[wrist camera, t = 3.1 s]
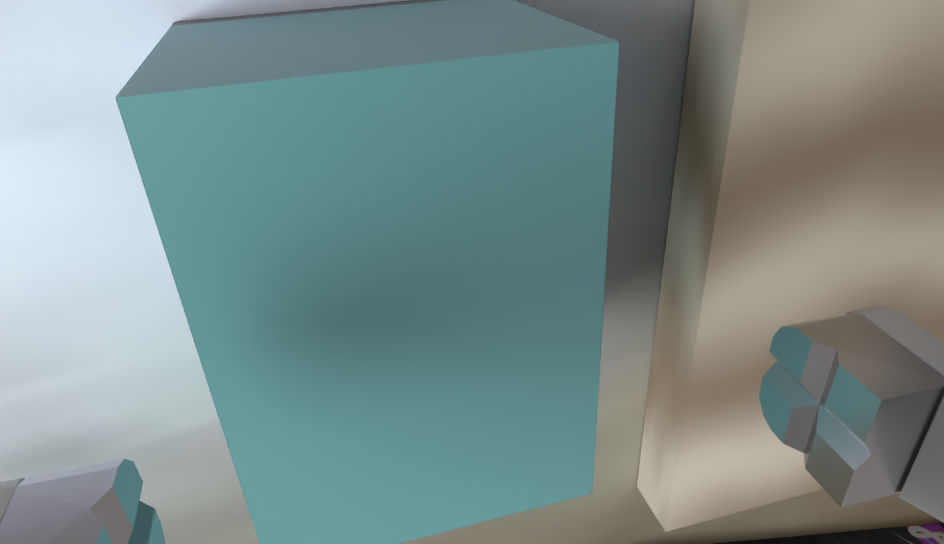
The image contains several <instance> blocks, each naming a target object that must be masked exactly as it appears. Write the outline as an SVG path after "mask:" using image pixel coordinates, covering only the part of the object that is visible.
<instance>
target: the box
mask: <svg viewBox="0 0 944 544" xmlns="http://www.w3.org/2000/svg"><path fill="white" fill-rule="evenodd" d="M717 544H944V523H940V524H929V525H918V526H907V527H895V528H884V529H873V530H862V531H850V532H839V533H828V534H817V535H806V536H796V537H784V538H772V539H761V540H751V541H739V542H728V543H717Z"/></svg>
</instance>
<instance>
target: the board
mask: <svg viewBox="0 0 944 544" xmlns="http://www.w3.org/2000/svg"><path fill="white" fill-rule="evenodd" d="M878 305H882V306H886V307H889V308H893V309H896V310H897V311H899V312H900V313H901V314H903V315H904V316H906V317H907V318H909V319H910V320H912V321H913V322H915V323H916V324H917V325H919V326H920V327H922V328H923V329H925V330H926V331H928V332H929V333H931V334H932V335H933V336H935V337H936V338H938V339H939V340H941V341H942V342H944V0H695V5H694V13H693V22H692V30H691V38H690V47H689V55H688V63H687V72H686V80H685V88H684V97H683V105H682V113H681V122H680V130H679V139H678V147H677V155H676V164H675V172H674V180H673V189H672V197H671V205H670V214H669V222H668V231H667V239H666V247H665V256H664V264H663V272H662V281H661V289H660V297H659V306H658V314H657V323H656V331H655V339H654V348H653V356H652V364H651V373H650V381H649V389H648V398H647V406H646V415H645V423H644V431H643V440H642V448H641V456H640V465H639V473H638V481H637V487H638V489H639V491H640V492H641V494H642V495H643V497H644V498H645V500H646V502H647V503H648V505H649V506H650V508H651V510H652V511H653V513H654V514H655V516H656V518H657V519H658V521H659V522H660V524H661V525H662V527H663V529H664V530H665V532H668V531H671V530H675V529H679V528H682V527H686V526H690V525H693V524H697V523H701V522H705V521H708V520H712V519H716V518H719V517H723V516H727V515H730V514H734V513H738V512H741V511H745V510H749V509H752V508H756V507H760V506H763V505H767V504H771V503H774V502H778V501H782V500H785V499H789V498H793V497H796V496H800V495H804V494H808V493H811V492H815V491H819V490H822V489H823V488H822V486H821V485H820V484H819V483H818V482H817V481H816V480H815V479H814V478H813V477H812V475H811V474H810V473H809V472H808V471H807V470H806V469H805V462H804V453H802V452H800V451H798V450H796V449H794V448H792V447H789V446H787V445H785V444H783V443H782V442H781V441H780V440H779V439H778V437H777V436H776V435H775V434H774V433H773V432H772V430H771V429H770V427H769V426H768V424H767V422H766V420H765V418H764V416H763V413H762V408H761V404H760V399H759V393H760V388H761V383H762V377H763V376H764V375H765V374H766V372H767V371H768V370H769V369H770V368H771V367H772V366H773V364H774V363H775V360H774V358H773V357H772V355H771V354H770V352H769V350H770V346H771V342H772V338H773V336H774V335H775V333H776V332H777V331H778V330H779V329H780V327H782V326H787V325H792V324H796V323H801V322H806V321H811V320H815V319H820V318H825V317H830V316H834V315H839V314H846V313H847V312H851V311H856V310H860V309H865V308H869V307H874V306H878Z"/></svg>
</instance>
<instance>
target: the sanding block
mask: <svg viewBox="0 0 944 544" xmlns="http://www.w3.org/2000/svg"><path fill="white" fill-rule="evenodd" d="M618 57H619V41H617V40H614V39H612V38H609V37H607V36H604V35H602V34H599V33H597V32H594V31H592V30H589V29H586V28H584V27H581V26H579V25H576V24H574V23H571V22H569V21H566V20H564V19H561V18H559V17H556V16H554V15H551V14H548V13H546V12H543V11H541V10H538V9H536V8H533V7H531V6H528V5H526V4H523V3H521V2H518V1H516V0H411V1H400V2H389V3H378V4H367V5H356V6H345V7H334V8H323V9H312V10H301V11H290V12H279V13H268V14H257V15H246V16H235V17H224V18H213V19H202V20H191V21H180V22H174V23H173V25H172V26H171V27H170V28H169V30H168V31H167V32H166V34H165V35H164V36H163V37H162V39H161V40H160V41H159V42H158V44H157V45H156V46H155V48H154V49H153V50H152V51H151V53H150V54H149V55H148V57H147V58H146V59H145V60H144V62H143V63H142V64H141V65H140V67H139V68H138V69H137V71H136V72H135V73H134V74H133V76H132V77H131V78H130V80H129V81H128V82H127V83H126V85H125V86H124V87H123V88H122V90H121V91H120V92H119V94H118V95H117V96H116V97H115V98H116V101H117V104H118V107H119V110H120V113H121V117H122V120H123V123H124V126H125V129H126V132H127V135H128V138H129V141H130V144H131V148H132V151H133V154H134V157H135V160H136V163H137V166H138V169H139V172H140V175H141V178H142V182H143V185H144V188H145V191H146V194H147V197H148V200H149V203H150V206H151V209H152V212H153V216H154V219H155V222H156V225H157V228H158V231H159V234H160V237H161V240H162V243H163V247H164V250H165V253H166V256H167V259H168V262H169V265H170V268H171V271H172V274H173V277H174V281H175V284H176V287H177V290H178V293H179V296H180V299H181V302H182V305H183V308H184V312H185V315H186V318H187V321H188V324H189V327H190V330H191V333H192V336H193V339H194V342H195V346H196V349H197V352H198V355H199V358H200V361H201V364H202V367H203V370H204V373H205V376H206V380H207V383H208V386H209V389H210V392H211V395H212V398H213V401H214V404H215V407H216V411H217V414H218V417H219V420H220V423H221V426H222V429H223V432H224V435H225V438H226V441H227V445H228V448H229V451H230V454H231V457H232V460H233V463H234V466H235V469H236V472H237V476H238V479H239V482H240V485H241V488H242V491H243V494H244V497H245V500H246V503H247V506H248V510H249V513H250V516H251V519H252V522H253V525H254V528H255V531H256V534H257V537H258V540H259V544H399V543H403V542H407V541H411V540H415V539H419V538H422V537H426V536H430V535H434V534H438V533H442V532H445V531H449V530H453V529H457V528H461V527H465V526H468V525H472V524H476V523H480V522H484V521H488V520H491V519H495V518H499V517H503V516H507V515H511V514H515V513H518V512H522V511H526V510H530V509H534V508H538V507H541V506H545V505H549V504H553V503H557V502H561V501H564V500H568V499H572V498H576V497H580V496H584V495H588V494H591V493H592V489H593V473H594V456H595V440H596V423H597V406H598V390H599V373H600V356H601V340H602V323H603V307H604V290H605V273H606V257H607V240H608V224H609V207H610V190H611V174H612V157H613V140H614V124H615V107H616V91H617V74H618Z"/></svg>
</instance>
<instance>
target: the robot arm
mask: <svg viewBox="0 0 944 544" xmlns="http://www.w3.org/2000/svg"><path fill="white" fill-rule="evenodd" d="M769 352H770V354H771V355H772V357H773V358H774V360H775V363H774V364H773V366H772V367H771V368H770V369H769V370H768V371H767V372H766V374H765V375H764V376H763V377H762V383H761V388H760V393H759V399H760V404H761V408H762V413H763V416H764V418H765V420H766V422H767V424H768V426H769V427H770V429H771V430H772V432H773V433H774V434H775V435H776V436H777V437H778V439H779V440H780V441H781V442H782V443H783V444H785V445H787V446H789V447H792V448H794V449H796V450H798V451H800V452H802V453H804V462H805V469H806V470H807V471H808V472H809V473H810V474H811V475H812V477H813V478H814V479H815V480H816V481H817V482H818V483H819V484H820V485H821V486H822V488H823V489H824V490H825V491H826V492H827V493H828V494H829V495H830V496H831V497H832V499H833V500H834V501H835V502H836V503H837V504H838V505H839V506H840V507H845V506H849V505H854V504H858V503H862V502H866V501H871V500H875V499H879V498H883V497H888V496H892V495H896V494H900V495H899V498H900V499H902V500H904V501H906V502H908V503H909V504H911V505H913V506H915V507H916V508H918V509H920V510H922V511H923V512H925V513H927V514H929V515H931V516H932V517H934V518H936V519H938V520H939V521H941V522H943V523H944V342H942V341H941V340H939V339H938V338H936V337H935V336H933V335H932V334H931V333H929V332H928V331H926V330H925V329H923V328H922V327H920V326H919V325H917V324H916V323H915V322H913V321H912V320H910V319H909V318H907V317H906V316H904V315H903V314H901V313H900V312H899V311H897V310H896V309H893V308H889V307H886V306H882V305H878V306H874V307H869V308H865V309H860V310H856V311H851V312H847V313H846V314H839V315H834V316H830V317H825V318H820V319H815V320H811V321H806V322H801V323H796V324H792V325H787V326H782V327H780V329H779V330H778V331H777V332H776V333H775V335H774V336H773V338H772V342H771V346H770V350H769ZM142 485H143V481H142V479H141V477H140V475H139V472H138V470H137V468H136V466H135V464H134V462H133V461H130V460H126V459H122V460H116V461H110V462H105V463H99V464H94V465H88V466H82V467H77V468H71V469H66V470H60V471H55V472H49V473H43V474H38V475H32V476H27V477H26V478H22V479H16V480H10V481H4V482H0V544H165V540H164V535H163V531H162V526H161V523H160V520H159V518H158V515H157V513H156V510H155V508H153V507H151V506H149V505H147V504H145V503H143V502H141V501H139V499H140V494H141V489H142Z"/></svg>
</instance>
